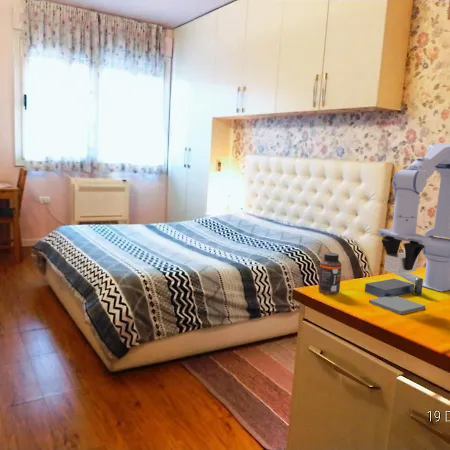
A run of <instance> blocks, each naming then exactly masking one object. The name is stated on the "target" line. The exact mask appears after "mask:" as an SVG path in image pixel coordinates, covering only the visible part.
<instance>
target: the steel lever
mask: <svg viewBox="0 0 450 450" xmlns="http://www.w3.org/2000/svg"><path fill="white" fill-rule="evenodd" d="M389 272H390V273H392V274H394V275H396V276H399V277H400V278H401V279H403V280H406V281H407V282H408V283H411V284H415V285H414V293H413V295H415V296H422V294H423V286H422V285H423V282H424V279H423V278H421V277H420V276H419V275H416V274H414V273H412V272H406V273H399V274H398V273H395V272H391V271H389Z"/></svg>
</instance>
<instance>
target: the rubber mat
mask: <svg viewBox="0 0 450 450" xmlns="http://www.w3.org/2000/svg"><path fill="white" fill-rule="evenodd" d="M368 303H369V304H371V305H374V306H377V307H379V308H382V309H384V310H387V311H390V312H392V313H395V314H397V315H398V314H399V315H404V314H408V313H412V312H417V311H421V310H424V309H426V305H425V304H422V303H418V302H416V301H414V300H413V301H412V300H409V299H406V298H404V297H400V296H395V295H391V296H386V297H377V298H371V299H369V300H368Z"/></svg>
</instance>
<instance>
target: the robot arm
mask: <svg viewBox="0 0 450 450" xmlns="http://www.w3.org/2000/svg"><path fill="white" fill-rule="evenodd" d="M435 171H436V172H438V173H439V175H440V181H439V188H438V197H437V203H436V210H435V211H436V212H435V219H434V226H433V227H432V228H430V229H428V230H426V231H425V233H424V235H421V234H419V233H416V232H417V222H418V214H419V213H418V212H419V206H420V205H419V204H420V193H422V192H423V191H424V190H425V189H424V188H425V186H426V184H427V182H428V181H427V180H429V178H430V177H431V176H432V175H434V173H435ZM391 181H392V183H391V184H392V189H393V193H392V195H393V198H394V205H393V207H394V208H393V218H392V219H393V220H392V229H388V228H378V230H377V231H378V232H377V236H378V237H385V238H382V239H381V243H382V244H383V246H384V249H385V253H386V255H387V254H395V253H399V249H400V246H401V243H402V241H403V242H404V241H405V243H403V246H404V247H403V248H404V253H405V270H412V268H413V266H414V263H415V261H416V259H417V260H418V257H419V255H420V254H421V253H422V254H423V255H424V258H426V264H425V271H424V279H423V285H422V288H423V287H424V288H426V289H430V290H433V291H437V292H440V293H441V292H445V291H450V143H449V142H441V143H440V142H437V143H436V142H431V143H430V144H429V145H428V147H427V149H426V155H425V156H418V157H417V158H416V159H415V160H414V161H413V162H411V164H410V165H408V166H407V167H406V168H405V169H401V168H400V169H399V170H397V171H396V172H395V173H394V174H393V177H392V180H391Z"/></svg>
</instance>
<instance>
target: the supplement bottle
mask: <svg viewBox="0 0 450 450" xmlns="http://www.w3.org/2000/svg"><path fill="white" fill-rule="evenodd" d="M339 256H340V255H339V253H335V252H325V253H324V255H323V257H324V259H321V261H320V263H319V264H320V265H319V274H318V275H319V276H318V277H319V278H318V291H319V292H320V293H321V294H325V295H337V294H339V292H340V289H341V288H340V287H341V276H342V263H341V261H340V260H339Z"/></svg>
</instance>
